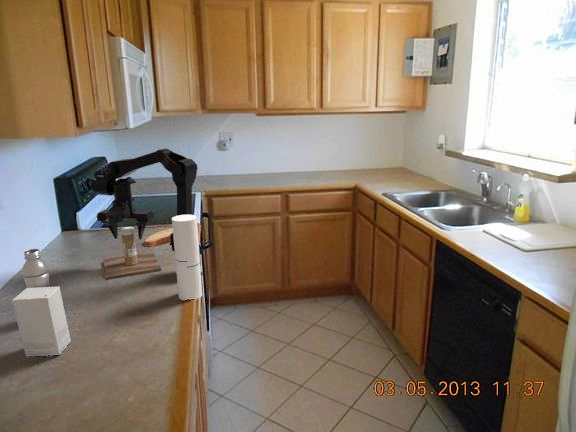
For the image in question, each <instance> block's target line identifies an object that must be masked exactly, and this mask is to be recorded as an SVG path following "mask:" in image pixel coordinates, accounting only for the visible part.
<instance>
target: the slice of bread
mask: <svg viewBox="0 0 576 432" xmlns="http://www.w3.org/2000/svg"><path fill="white" fill-rule="evenodd" d="M171 233H173V227H171V228H167V229H163V230H160V231H157V232H154V233H153V234H151V235H149V236H148V237H146V238H145V239H144V240H143V246H144V247H145V248H154V247H157V246H161V245H165V244H170V243H171V239H170V234H171Z"/></svg>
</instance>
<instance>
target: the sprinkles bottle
mask: <svg viewBox="0 0 576 432" xmlns="http://www.w3.org/2000/svg"><path fill="white" fill-rule="evenodd" d="M120 236H121V241H122V242H121V243H122V250H123V256H124V258H125V265H128V266H131V265H135V264H137V263H138V261H137V254H138V253H137V246H136V238H135V227H133V226H125V227H122V228H121V229H120Z"/></svg>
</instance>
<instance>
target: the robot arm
mask: <svg viewBox="0 0 576 432" xmlns="http://www.w3.org/2000/svg"><path fill="white" fill-rule="evenodd" d="M159 163H160V164H161V165H162V166H163V168H164V169H165V170H166V171H168V172H169V173H171V177H172V178H171V179H172V181H173V183H174V185H175V186H176V216H178V215H193V214H192V212H193V210H192V208H193V201H192V199H193V191H192V190H193V186H194V183H195V181H196V178H197V174H198V164H197V163H196V162H195V161H194V160H193V159H192V158H187V157H186V156H184V155H181V154H179V153H176V152H174V151H173V150H171V149H169V148H160V149H158V150H155V151H153V152H150V153H146V154H144V155H140V156H138V157H134V158H125V159H122V158H121V159H118V160H112V161H110V162H108V164H107V169H106V171H105V173H104V174H103V175H101V174H100V175H95V180H94V181H93V182H92V186H91V188H92V192H93V193H94V194H95V195H97V196H98V195H99V196H100V195H101V196H113V198H114V199H113V200H112V206H111V207H110V208H109V209H103V210H101V211H99V212H97V214H96V221H97V222H100V223H101V224H104V225H106V226H107V227H108V229H109V231H110V233H111V234H112V236H113V238H114V239H115V240H117V239H118V235H119V233H118V223H119V224H120V223H123V221H124V219H133V220H134V219H135V221H137V222H136V223H135V224H136V226H137V233H138V240H142V239H143V237H144V236H143V235H144V233H145V230H146V227H147V225H148V223H149V222H151V220H153V219H154V218H155V213H154V211H152V210H141V211H140V212H136V208H134V204H133V202H134V201H135V197H133V195H132V194H133V193H132V186H131V185H134V184H136V183H137V181H136V180H135V179H133V178H132V177H131V176H130V175H131V174H133V173H135V172H136V171H138V170H140V169H142V168H145V167H148V166H149V167H150V166H153V165H155V164H159ZM126 176H127V177H126ZM124 177H125V178H124ZM170 239H171V242H169V246H171V250H172V252H173V253H174V254H175V249H174V238H173V233H171V234H170ZM203 252H204V247H202V246H201V244H199V256H200V255H202V254H203ZM203 275H204V274H203V271H201V277H202V276H203Z"/></svg>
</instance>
